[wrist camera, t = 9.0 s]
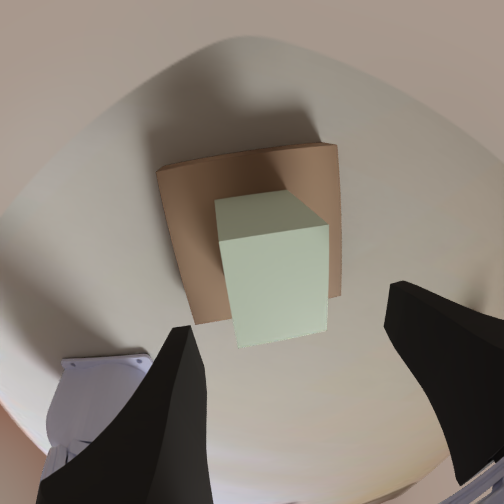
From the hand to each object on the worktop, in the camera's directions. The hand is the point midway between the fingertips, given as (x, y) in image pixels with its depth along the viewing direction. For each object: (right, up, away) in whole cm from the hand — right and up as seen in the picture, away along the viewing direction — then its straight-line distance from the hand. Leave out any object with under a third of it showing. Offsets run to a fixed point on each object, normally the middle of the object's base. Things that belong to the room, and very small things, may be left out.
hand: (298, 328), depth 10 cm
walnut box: (-1, +4, +10) cm, 11 cm away
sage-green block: (-1, +3, +7) cm, 8 cm away
